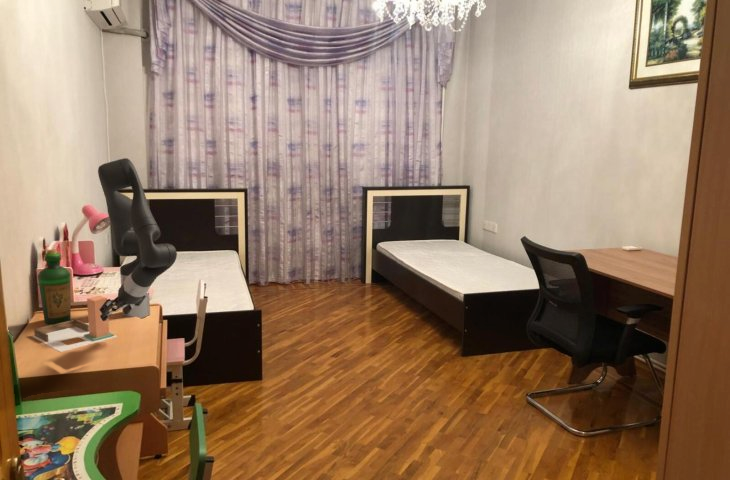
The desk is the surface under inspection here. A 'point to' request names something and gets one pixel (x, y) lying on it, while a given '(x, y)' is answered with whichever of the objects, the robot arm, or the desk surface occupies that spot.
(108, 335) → the pad
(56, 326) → the tray
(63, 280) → the bottle
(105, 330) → the post
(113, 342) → the desk surface
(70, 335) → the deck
